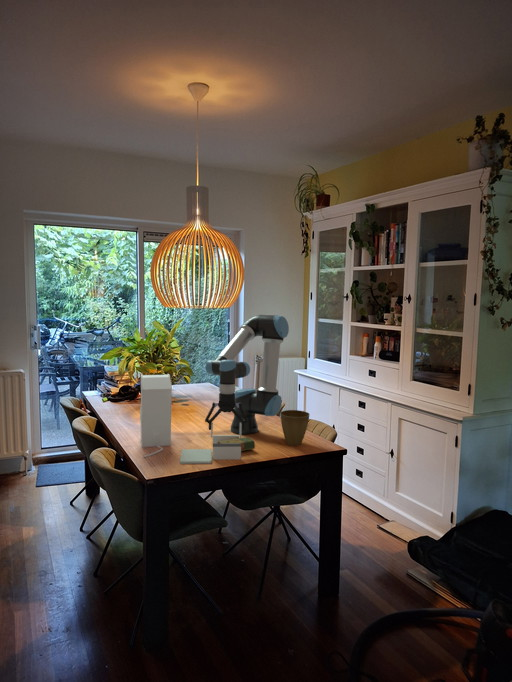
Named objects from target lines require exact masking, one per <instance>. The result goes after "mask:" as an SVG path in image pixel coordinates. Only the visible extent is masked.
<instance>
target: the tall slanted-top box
mask: <svg viewBox="0 0 512 682" xmlns="http://www.w3.org/2000/svg"><path fill="white" fill-rule="evenodd" d="M172 391H173V390H172V380H171V374H169V373H166V374H149V375H148V374H144V375H143V374H142V373H141V374H140V408H139V420H140V444H141V448H149V447H150V448H151V447H157V448H158V450H156V451H153V452H152V453H150V454H146V455H142V457H143V458H148V457H150V456H151V457H152V456H153V455H155V454H158V453H160V452H162V451H163V450H164V449H163V447H164V446H171V445H172V443H171V442H172V441H171V440H172V404H173V403H172V401H173V400H172V393H173V392H172Z"/></svg>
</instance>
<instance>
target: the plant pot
mask: <svg viewBox="0 0 512 682" xmlns="http://www.w3.org/2000/svg"><path fill="white" fill-rule="evenodd" d="M279 412H280V413H279V414H280V422H281V429H282V433H283V436H284V439H285V442H286V444H287V445H288V446H291V447H292V446H293V447H298V446H301V445H302V442H303V441H304V438H305V435H306V432H307V428H308V423H309V421H310V413H309V412H307V411H304V410H299V409H298V410H297V409H286V410H282V411H279Z"/></svg>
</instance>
